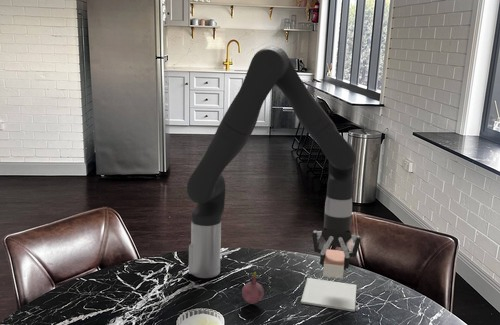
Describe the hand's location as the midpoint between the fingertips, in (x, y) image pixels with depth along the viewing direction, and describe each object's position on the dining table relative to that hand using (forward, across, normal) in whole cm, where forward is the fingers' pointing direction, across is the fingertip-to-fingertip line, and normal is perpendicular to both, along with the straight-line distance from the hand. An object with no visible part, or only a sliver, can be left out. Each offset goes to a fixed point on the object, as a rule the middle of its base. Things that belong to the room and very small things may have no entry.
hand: (334, 267), depth 139 cm
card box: (+1, 0, 0) cm, 1 cm away
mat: (+9, -1, 0) cm, 9 cm away
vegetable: (+9, -21, -12) cm, 26 cm away
